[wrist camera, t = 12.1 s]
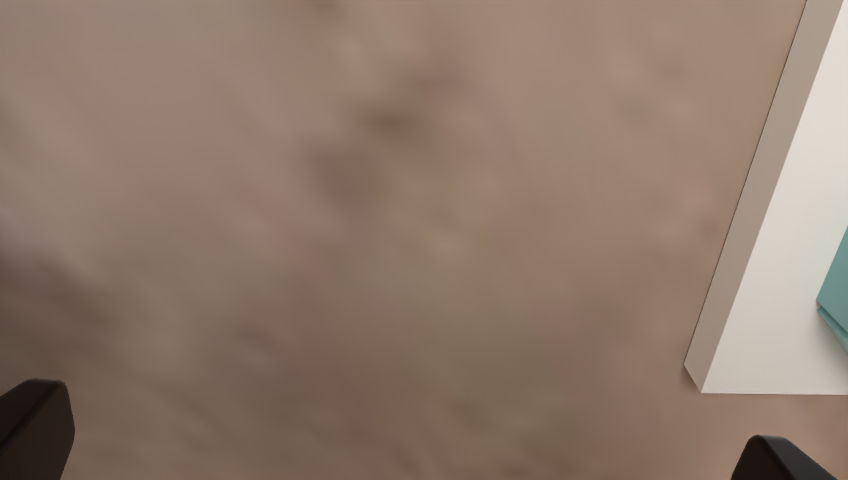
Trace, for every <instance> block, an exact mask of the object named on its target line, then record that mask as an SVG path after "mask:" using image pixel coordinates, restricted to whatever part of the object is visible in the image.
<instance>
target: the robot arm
mask: <svg viewBox="0 0 848 480" xmlns="http://www.w3.org/2000/svg"><path fill="white" fill-rule="evenodd" d="M74 435H75V426H74V420H73V415H72V410H71V404H70V399H69V394H68V389H67V386H66V385H65V383H64V382H62V381H60V380H51V379H38V378H33V379H29V380H26V381H24V382H23V383H21V384H19V385H18V386H16V387H15V388H13V389H12V390H10V391H8V392H7V393H5V394H4V395H2V396H1V397H0V480H60V479H61V476H62V473H63V470H64V467H65V465H66V462H67V459H68V456H69V454H70V451H71V448H72V445H73V441H74ZM731 480H837V479H836V478H835V477H833V476H832V475H831V474H830V473H828V472H827V471H826V470H825V469H824V468H822V467H821V466H820V465H819V464H817V463H816V462H815V461H814V460H812V459H811V458H810V457H809V456H807V455H806V454H805V453H804V452H803V451H801V450H800V449H799V448H798V447H796V446H795V445H794V444H793V443H791V442H790V441H789V440H787V439H785V438H783V437H779V436H767V435H755V436H753V437H751V438H750V439H749V440H748V442H747V444H746V446H745V448H744V450H743V452H742V454H741V457H740V459H739V461H738V463H737V465H736V467H735V469H734V472H733V474H732V477H731Z"/></svg>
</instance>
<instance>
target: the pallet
mask: <svg viewBox="0 0 848 480" xmlns="http://www.w3.org/2000/svg"><path fill="white" fill-rule="evenodd" d="M684 366H685V368H686V369H687V371H688V373H689V374H690V376H691V378H692V379H693V381H694V383H695V384H696V386H697V388H698V389H699V391H700V392H701V393H738V394H824V395H848V0H807V2H806V5H805V8H804V11H803V14H802V17H801V20H800V23H799V26H798V29H797V32H796V35H795V38H794V41H793V44H792V47H791V50H790V52H789V55H788V58H787V61H786V64H785V67H784V70H783V73H782V76H781V79H780V82H779V85H778V88H777V91H776V94H775V97H774V100H773V103H772V106H771V108H770V111H769V114H768V117H767V120H766V123H765V126H764V129H763V132H762V135H761V138H760V141H759V144H758V147H757V150H756V153H755V156H754V159H753V162H752V164H751V167H750V170H749V173H748V176H747V179H746V182H745V185H744V188H743V191H742V194H741V197H740V200H739V203H738V206H737V209H736V212H735V215H734V218H733V220H732V223H731V226H730V229H729V232H728V235H727V238H726V241H725V244H724V247H723V250H722V253H721V256H720V259H719V262H718V265H717V268H716V271H715V274H714V276H713V279H712V282H711V285H710V288H709V291H708V294H707V297H706V300H705V303H704V306H703V309H702V312H701V315H700V318H699V321H698V324H697V327H696V330H695V332H694V335H693V338H692V341H691V344H690V347H689V350H688V353H687V356H686V359H685V362H684Z"/></svg>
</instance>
